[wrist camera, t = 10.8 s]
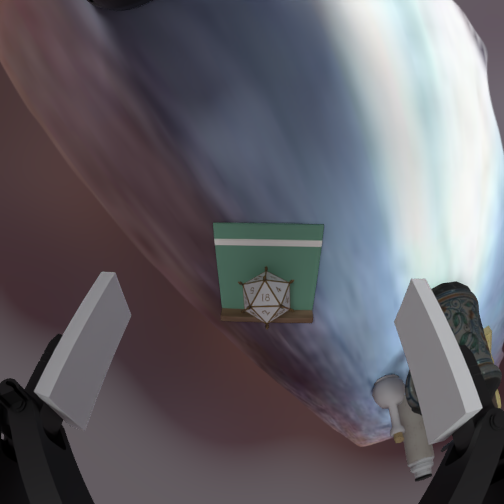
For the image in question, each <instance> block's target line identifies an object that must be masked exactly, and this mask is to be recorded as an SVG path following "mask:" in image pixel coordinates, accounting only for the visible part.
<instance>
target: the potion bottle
mask: <svg viewBox="0 0 504 504" xmlns="http://www.w3.org/2000/svg"><path fill="white" fill-rule="evenodd" d="M374 385H375V387H374V388H373V394H372V396H373V398H374V400H375V402H376V403H377V404H378V405H379V406H380V407H381V408H382V409H389V412H390V417H391V422H392V429H391V431H390V436H391V437H394V440H395V443H400V442H402V441H403V440H404V437H403V433H405V429H404V426H402V425H401V423H400V418H399V413H398V409H397V405H399V404H400V403H402V401H403V397H404V394H405V384H404V383H403V381H402V379H399V376H397V375H395V374H392V375H385V376H383V377H381V378H380V379H378V380H377V381H376V382H375V384H374Z"/></svg>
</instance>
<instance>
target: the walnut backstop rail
mask: <svg viewBox="0 0 504 504" xmlns="http://www.w3.org/2000/svg"><path fill="white" fill-rule="evenodd" d="M241 310H244V309H232V308H222V312H221V321H237V322H262V321H260V320H259V319H257V318H255V317H254V316H252V315H251V314H249V313H247V312H246V311H245V313H241ZM294 311H295V312H291V311H290V310H289V311H287V312H286V313H284V314H283V315H281V316H280V317H278V318H276V319H275V320H273V321H272V322H270V323H312V322H313V313H312V310H294Z"/></svg>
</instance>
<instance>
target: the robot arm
mask: <svg viewBox="0 0 504 504" xmlns="http://www.w3.org/2000/svg"><path fill="white" fill-rule="evenodd" d="M87 1H88V2H89V3H91V4H93V5H95V6H97V7H100V8H104V9H108V10H128V9H132V8H136V7H139V6H141V5H144V4H146V3H148V2H150V1H152V0H87ZM130 317H131V313H130V311H129V308H128V306H127V303H126V301H125V298H124V295H123V293H122V290H121V287H120V284H119V282H118V279H117V276H116V273H113V272H101V274H100V275H99V277H98V278H97V280H96V281H95V283H94V284H93V286H92V287H91V289H90V291H89V292H88V294H87V295H86V297H85V299H84V300H83V302H82V303H81V305H80V307H79V308H78V310H77V312H76V314H75V315H74V317H73V318H72V320H71V322H70V324H69V325H68V327H67V329H66V330H65V332H64V334H63V335H61V334H58V335H56V336H55V337H54V338H53V339H52V340H51V341H50V342H49V344H48V346H47V348H46V350H45V351H44V354H43V355H42V357H41V359H40V361H39V362H38V364H37V366H36V368H35V370H34V372H33V374H32V376H31V378H30V380H29V382H28V384H27V386H26V388H25V389H23V388H22V387H21V386H20V385H19V384H18V382H16V380H15V379H11V378H9V379H6V380H4V381H2V382H1V383H0V504H94V502H93V500H92V498H91V496H90V494H89V491H88V489H87V487H86V485H85V482H84V480H83V478H82V475H81V473H80V471H79V468H78V466H77V463H76V461H75V459H74V456H73V453H72V450H71V448H70V445H69V442H68V439H67V436H66V433H65V430H64V428H63V426H62V425H61V424H62V421H63V420H64V421H65V422H66V423H68V424H69V425H70V426H72V427H75V428H77V429H80V430H83V431H85V429H86V426H87V423H88V421H89V418H90V415H91V412H92V409H93V406H94V404H95V401H96V398H97V396H98V393H99V391H100V388H101V385H102V383H103V380H104V378H105V375H106V373H107V370H108V368H109V365H110V363H111V361H112V358H113V356H114V353H115V351H116V349H117V346H118V344H119V342H120V339H121V337H122V335H123V333H124V330H125V328H126V326H127V324H128V321H129V319H130ZM394 323H395V326H396V329H397V332H398V335H399V338H400V341H401V344H402V347H403V350H404V353H405V356H406V359H407V362H408V366H409V369H410V372H411V376H412V379H413V383H414V386H415V390H416V394H417V397H418V401H419V405H420V409H421V413H422V417H423V421H424V426H425V430H426V434H427V439H428V444H433V443H436V442H440V441H444V440H445V439H447V438H448V437H449V436H451V435H452V436H453V440H452V441H451V442H450V443H448V444H447V445H446V446H444V447H443V448H442V450H441V452H443V451H445V450H446V449H447V451H446V453H445V456H444V458H443V460H442V462H441V464H440V466H439V468H438V470H437V472H436V474H435V476H434V477H433V479H432V481H431V483H430V485H429V486H428V488H427V490H426V492H425V493H424V495H423V497H422V499H421V500H420V502H419V503H418V504H504V411H503V410H502V409H500V408H496V407H495V406H494V404H493V402H492V399H491V396H490V393H489V391H488V388H487V385H486V383H485V380H484V378H483V375H481V370H480V368H479V366H478V363H477V361H476V359H475V356H474V354H473V353H472V351H471V350H470V349H469V348H468V347H467V346H466V345H460V346H459V345H458V343H457V341H456V339H455V336H454V334H453V332H452V330H451V328H450V326H449V324H448V321H447V319H446V317H445V315H444V313H443V311H442V309H441V307H440V305H439V303H438V301H437V299H436V298H435V296H434V294H433V292H432V290H431V288H430V286H429V284H428V283H427V281H426V279H411V281H410V284H409V286H408V289H407V292H406V294H405V297H404V299H403V302H402V304H401V307H400V309H399V312H398V314H397V316H396V319H395V321H394ZM1 433H3V434H4V440H2V439H1Z"/></svg>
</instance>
